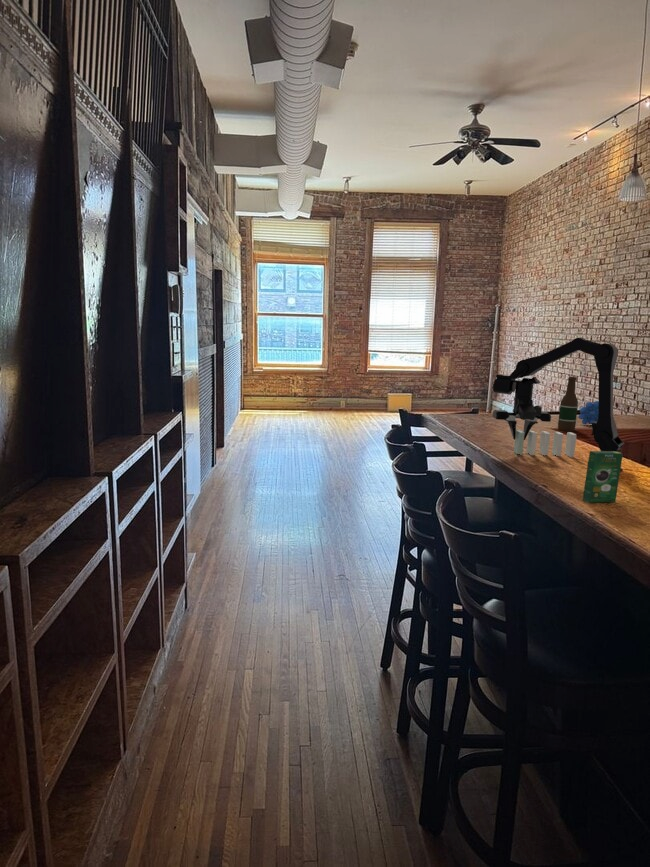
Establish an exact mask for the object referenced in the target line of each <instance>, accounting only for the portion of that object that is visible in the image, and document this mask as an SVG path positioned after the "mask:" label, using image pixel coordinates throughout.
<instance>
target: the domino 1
mask: <svg viewBox="0 0 650 867" xmlns="http://www.w3.org/2000/svg"><path fill="white" fill-rule="evenodd" d="M523 431H524V430H518V429H516V437H515V440H514V446H513V447H514V448H513V453H514V452H515V454H516V455H517V454H520V455H519V456H523V452H524V451H523V450H524V441H525V440H524V432H523Z"/></svg>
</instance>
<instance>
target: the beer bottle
mask: <svg viewBox="0 0 650 867" xmlns="http://www.w3.org/2000/svg"><path fill="white" fill-rule="evenodd" d="M567 380H568V382H567V386H566V392H565V394H564V395H563V397H562V399H561V401H560V406H559V414H558V422H557V430H559V431H565V432H574V431H575V430H576V425H577V423H576V422H577V415H578V409H579V408H578V406H579V401H578V397H577V395H576V383H577V382H576V381H577V377H576V376H568V378H567Z"/></svg>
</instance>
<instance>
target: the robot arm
mask: <svg viewBox="0 0 650 867" xmlns="http://www.w3.org/2000/svg"><path fill="white" fill-rule="evenodd" d="M579 351H580V352H583V353H585V354H588V355H591V356H594V357H593V358H594V362H595V367H596V369H597V372H598V401H599V414H598V420H597V421H595V422H593V423H592V425H591V428H592V432H591V434H590V436H593V440H594V441H595V442H596V444H598V449H599V451H616V452H620V453H622V452H621V451H622V450H621V449H622V448H623V447H624V445H625V442H624V441H623V440H622V439H621V437H620V436H619V433H618V430H617V429H618V428H617V424H616V421H615V418H614V371H615V368H616V364H617V362H618V361H617V360H618V355H619V349H618V347H617V346H616V345H615V344H612V343H604V342H603V343H599V342H595V341H592V340H588V339H586V338H584V337H576V338H574V339H572V340H570V341H568V342H566V343H564V344H562V345H560V346H558V347H556V348H554V349H551V350H549V351H547V352H544V353H543V354H540V355H537V356H532V357H528V358H525V359H521V360H519V361H517V363H516V365H515V369H514V370H513V371H512V372H511V373H510V374H509V375H508V374H503V373H497V374H496V377H495V379H494V382H493V384H492V391H493V393H494V394H503V395H504V394H505V395H512V394H513V393H514V397H513V401H514V402H513V408H512V412H510V411H507V410H505V409H494V410H493V411H492V418H493V419H495V420H498V421H499V420H501V421H503V420H504V421H505V422H507V423H508V426H509V429H510V434H511V436H512V439H513V441H515V437H516V430H517V423H518V421H517V420H516V419H520V420H522V421H524V424H523V430H522V431H523V432H524V441H525V440H526V439H527V438H528V433H529V431H531V430H532V427H533V426H534V425H535V424H537V425H538V424H539V422H538V420H540V421H541V422H545V423H546V422H551V421H552V415H551V413H549V412H546V411H543V410H542V408H543V407H542V406H541V405H534V404H533V403H534V402H533V393H534V392H533V391H534V385H538V384H541V381H540V380H539V379H538V377H536V376H533V375H535V374H537V373H538V372H540V371H542V370H543V369H544V368H545V367H547V366H548V365H550V364H552V363H554V362H556V361H559V360H561V359H564V358H566V357H568V356H571V355H573V354H575V353H577V352H579ZM531 376H532V377H531ZM528 377H531V378H528ZM518 379H519V380H518ZM520 379H521V380H520ZM623 470H624V468H622V467H621V469H620V472H621V471H623Z"/></svg>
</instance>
